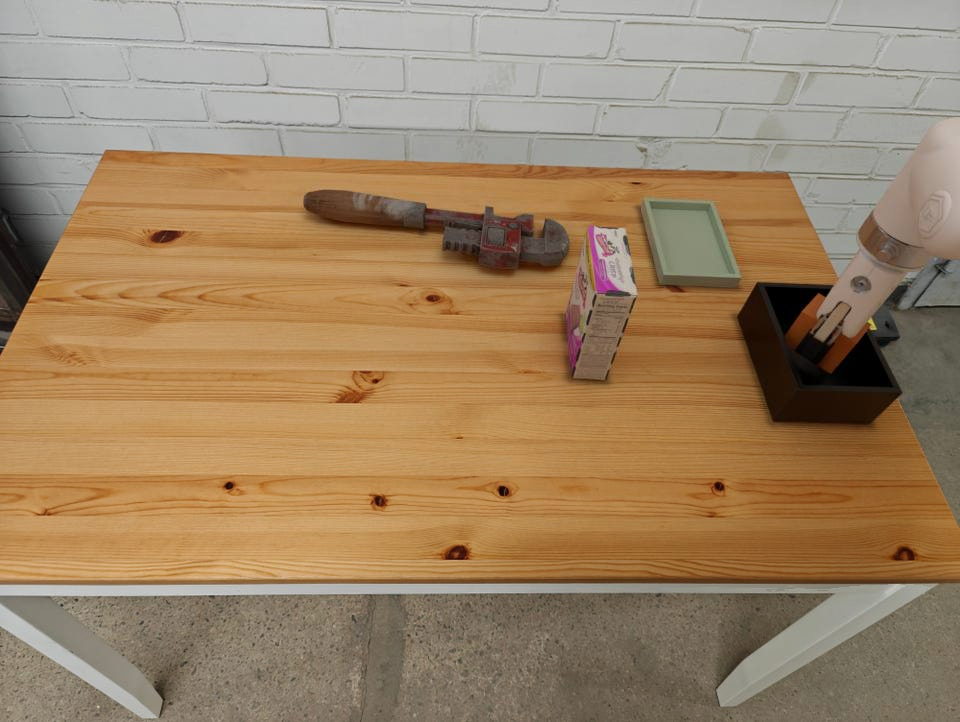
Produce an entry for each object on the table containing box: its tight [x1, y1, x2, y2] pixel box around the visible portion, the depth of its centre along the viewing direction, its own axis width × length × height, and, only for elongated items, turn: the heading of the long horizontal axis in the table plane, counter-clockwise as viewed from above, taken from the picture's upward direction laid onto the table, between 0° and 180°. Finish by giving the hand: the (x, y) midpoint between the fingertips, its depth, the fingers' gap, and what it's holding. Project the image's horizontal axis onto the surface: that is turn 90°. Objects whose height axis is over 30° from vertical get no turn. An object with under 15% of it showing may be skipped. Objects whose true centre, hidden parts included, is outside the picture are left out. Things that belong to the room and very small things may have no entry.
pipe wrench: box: [302, 189, 571, 270], centre depth 93 cm, size 40×12×5 cm, turn 85°
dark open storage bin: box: [736, 281, 903, 425], centre depth 81 cm, size 18×13×7 cm
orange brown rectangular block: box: [785, 293, 872, 374], centre depth 79 cm, size 7×4×6 cm, turn 45°
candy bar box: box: [565, 225, 639, 381], centre depth 77 cm, size 11×5×16 cm, turn 179°
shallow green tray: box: [639, 197, 743, 289], centre depth 97 cm, size 18×12×2 cm, turn 0°
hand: (816, 345), depth 80 cm, fingers closed on orange brown rectangular block, 4 cm apart
